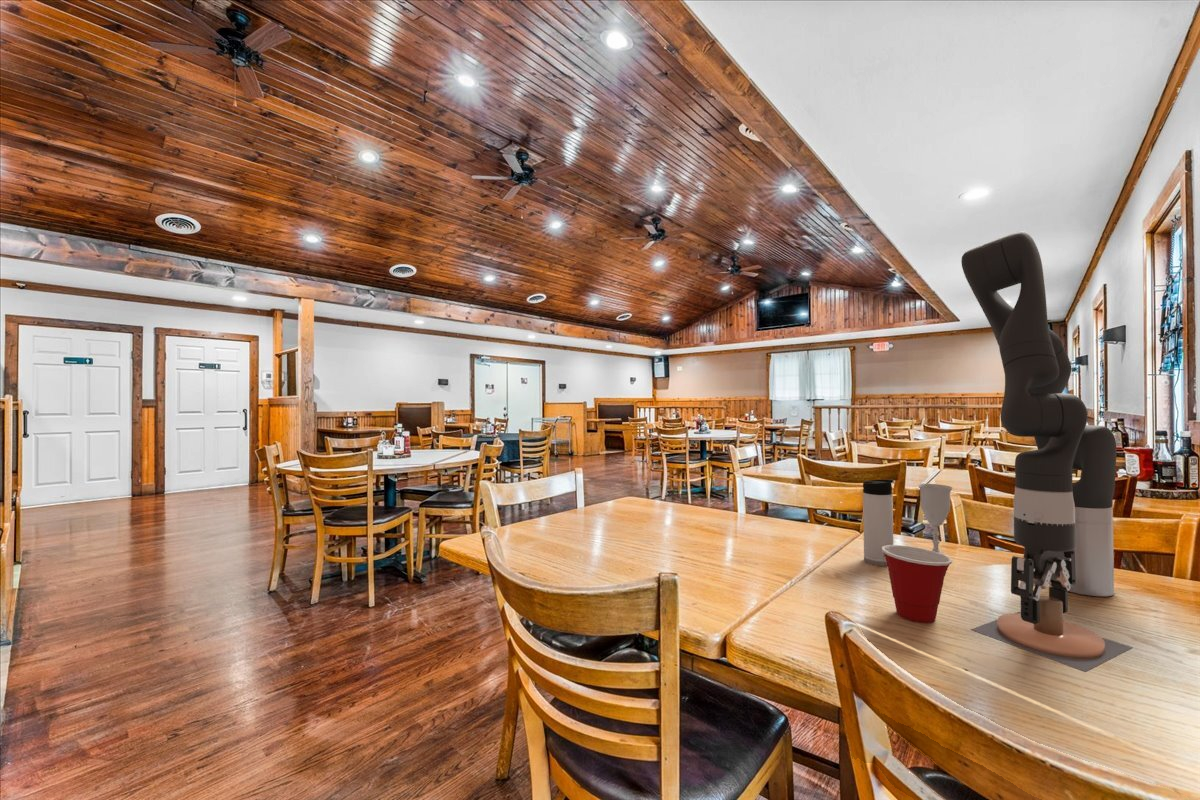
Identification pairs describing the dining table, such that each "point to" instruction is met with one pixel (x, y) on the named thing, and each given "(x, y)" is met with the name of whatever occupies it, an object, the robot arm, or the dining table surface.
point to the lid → (1052, 632)
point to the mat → (1079, 663)
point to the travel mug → (877, 520)
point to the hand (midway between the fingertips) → (1044, 616)
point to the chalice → (935, 507)
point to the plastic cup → (916, 580)
